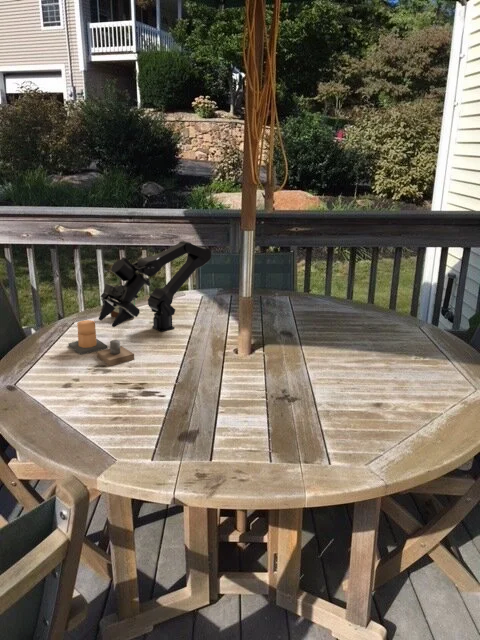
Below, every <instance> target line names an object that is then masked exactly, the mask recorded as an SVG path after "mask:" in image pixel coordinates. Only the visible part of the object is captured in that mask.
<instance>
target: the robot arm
mask: <svg viewBox="0 0 480 640" xmlns="http://www.w3.org/2000/svg"><path fill="white" fill-rule="evenodd" d="M185 254H187V257H186V261H185V263H183V264H182V266H181V267H180V268H179V269H178V271H177V272H176V273H175V274H174V275H172V277H171V278H170V279H169V281H168V282H167V283H166V284H165V286H164V287H162V288H158V287H155V289H154V290H153V291H152V292H151V293H149V297H148V299H147V304H148V307H149V308H150V310H151V311H152V313H153V314H154V315H153V317H152V318H153V319H152V320H153V321H152V322H153V324H152V327H151V328H153V329H155V330H157V331H158V332H165V331H169V330H173V329H175V326H173V316H174V315H175V313H176V309H175V307H173V306H172V303H173V299H174V296H175V295H176V293H178V291H179V290H180V289H181V287H183V285H184V284H185V283H186V282H187V281H188V279H189V278H190V277H191V275H193V274H194V272H196V270H197V269H199V268H201V267H202V268H203V266H205V265H206V264H207V263H208V262H210V260H211V259H212V251H211V250H210V249H209V248H207V247H204V246H203V247H202V246H201V245H196V244H195V245H194V244H192V243H191V242H190V241H185V240H181V241H179V242H178V243H177V244H175V245H173V246H171V247H169V248H167V249H165V250H163V251H161V252H160V253H158V254H156V255H150V256H146V257H142V258H139V259H138V260H137V261H136V262H134V263H131V262H130V261H129V259H128V258H127V257H124V256H122V257H121V259H118V260H117V261H115V262H113V264H112V266H111V272H112V273H113V274H114V275H115V276H117V278H119V279H120V280H121V281H123V282H125V283H124V284H119V285H118V284H117V285H115V286H114V285H112V284H110V283H105V285H104V289H103V292H102V294H101V295H100V298H101V299H100V300H101V302H102V307H101V311H100V314H99V317H98V320H99V321H103V320H104V319H105V318H106V317H107V316H109V315H111V312H112V311H113V310H115V309H116V308H114V307H116V306H120V307H119V313H118V315H117V317H116V318H114V320H113V321H112V324H111V327H112V328H116V327H118V326H119V325H121V324H122V323H125V322H127V321H128V320H132V319H131V318H134V319H135V318H138V316H139V314H140V312H141V310H140V309H139V308H138V307H137V306H136V304H135V305H133V304H132V303H131V302H132V300H133V299H134V298H137V299H138V298H139V296H138V294H139V292H140V291H141V289H142V288H143V287H144V285H145V286H149V287H150V286H151V283H150V278H149V277H154V276H155V275H156V274H158V273H159V272H160V271H161V270H162V268H163V267H164V266H165V265H168V264H169V263H171V262H173V261H174V260H176V259H178V258H180V257H183V255H185ZM144 275H145V276H147V277H144ZM113 306H114V307H113ZM133 316H134V317H133Z"/></svg>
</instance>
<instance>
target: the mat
mask: <svg viewBox="0 0 480 640" xmlns="http://www.w3.org/2000/svg"><path fill="white" fill-rule="evenodd" d="M96 341H97V344H96V346H93V347H88V348H83V347H80V346H79V343H78V340H76V341H72V342H68V344H67V345H68V347H69V348H70V349H72V350H74V351H75V352H76V353H77V354H79V355H85V354H89V353H93V352H98V351H102V350H106V349H108V345H107V344H106V343H104V342H103V341H101V340H99V339H98V338H96ZM101 349H102V350H101Z"/></svg>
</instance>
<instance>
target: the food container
mask: <svg viewBox="0 0 480 640" xmlns="http://www.w3.org/2000/svg"><path fill="white" fill-rule="evenodd" d="M137 299H138V298H134V299H133V300H132V302H131V303H132V304H133V305H135V306H136V301H138V300H137ZM113 307H114V306H113ZM119 307H120V306H116V307H114V308H116V309H115V310H113V311H112V312H111V313H110V318H111V319H115V318H116V317H117V315H118V313H119ZM133 317H134V318H131V319H130V320H134V319H135V316H133Z"/></svg>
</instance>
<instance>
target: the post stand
mask: <svg viewBox="0 0 480 640" xmlns="http://www.w3.org/2000/svg"><path fill="white" fill-rule="evenodd" d="M96 355H97V358H98V359H99V360H101V361H102V362H103V363H105V364H107V365H108V366H114V365H118V364H122V363H125V362H129V361H134V360H135V353H134V352H132V351H130V350H129V349H127V348H126V347H124V346H123V345H121V341H120V340H119V339H113V340H110V341H109V348H106V349H102V350H98V351H96Z"/></svg>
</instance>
